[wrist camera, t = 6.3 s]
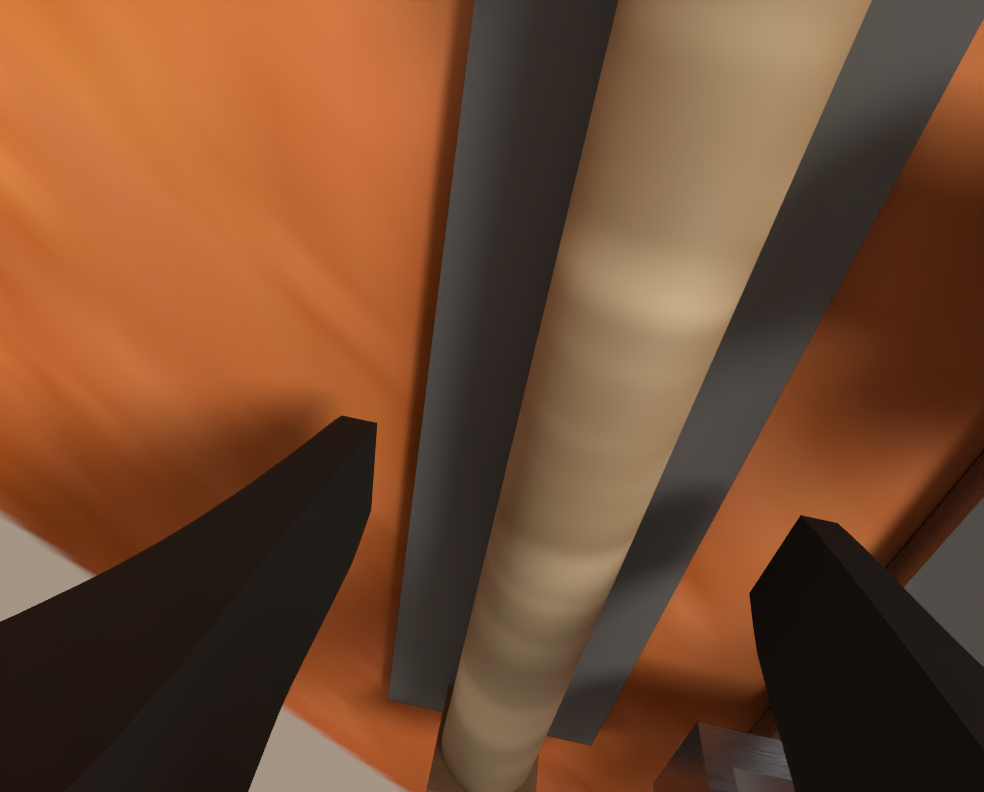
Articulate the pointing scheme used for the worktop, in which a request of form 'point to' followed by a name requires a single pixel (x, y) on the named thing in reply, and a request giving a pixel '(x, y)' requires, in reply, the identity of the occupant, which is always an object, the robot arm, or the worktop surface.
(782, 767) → the hook standards
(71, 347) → the worktop surface
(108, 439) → the worktop surface
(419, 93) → the worktop surface
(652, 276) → the tan wooden rod
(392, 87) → the worktop surface
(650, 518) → the mat
